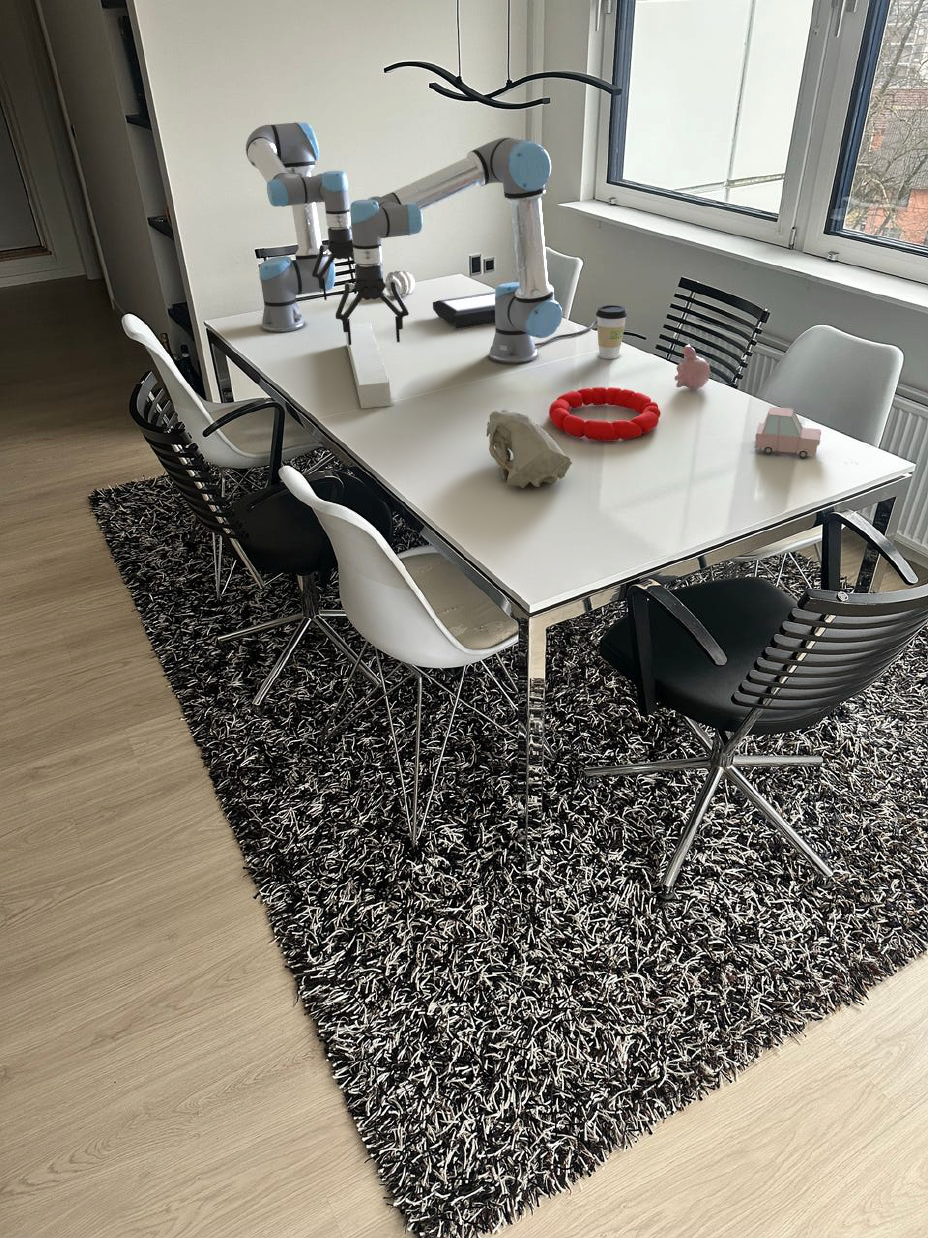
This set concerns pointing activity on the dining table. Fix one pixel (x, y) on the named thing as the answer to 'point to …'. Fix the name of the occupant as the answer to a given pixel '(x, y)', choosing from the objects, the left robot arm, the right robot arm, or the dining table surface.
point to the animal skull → (525, 450)
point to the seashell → (401, 282)
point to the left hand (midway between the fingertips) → (346, 297)
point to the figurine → (692, 370)
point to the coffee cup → (610, 329)
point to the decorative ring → (604, 428)
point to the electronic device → (467, 310)
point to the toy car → (786, 434)
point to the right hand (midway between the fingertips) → (374, 342)
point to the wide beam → (368, 367)
